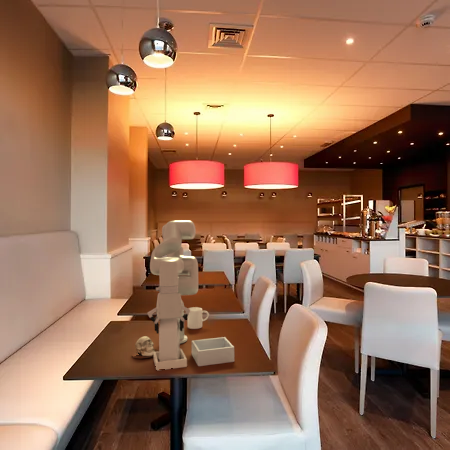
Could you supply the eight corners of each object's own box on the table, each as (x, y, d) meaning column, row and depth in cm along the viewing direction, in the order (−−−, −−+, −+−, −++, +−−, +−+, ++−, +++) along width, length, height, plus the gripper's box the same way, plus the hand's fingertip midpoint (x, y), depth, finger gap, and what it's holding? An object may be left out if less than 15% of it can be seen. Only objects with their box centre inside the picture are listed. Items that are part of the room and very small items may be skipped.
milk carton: (177, 366, 140) (176, 319, 140) (159, 366, 140) (158, 319, 140) (179, 359, 147) (179, 314, 147) (162, 359, 148) (162, 314, 147)
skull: (167, 351, 154) (153, 338, 149) (151, 372, 149) (137, 359, 144) (152, 343, 163) (139, 330, 158) (137, 363, 158) (123, 350, 153)
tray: (153, 359, 148) (153, 352, 148) (181, 355, 151) (181, 348, 151) (156, 370, 136) (156, 362, 136) (186, 366, 140) (186, 359, 140)
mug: (208, 329, 188) (208, 311, 188) (186, 328, 190) (186, 310, 189) (210, 324, 196) (210, 307, 196) (189, 324, 198) (189, 307, 197)
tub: (191, 354, 153) (191, 340, 153) (225, 350, 157) (224, 337, 157) (198, 366, 140) (198, 351, 140) (234, 361, 145) (234, 347, 145)
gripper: (148, 292, 138) (148, 336, 137) (191, 289, 143) (191, 332, 142) (146, 289, 145) (147, 330, 145) (188, 286, 150) (188, 327, 150)
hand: (169, 331), depth 144 cm, fingers open, 9 cm apart
